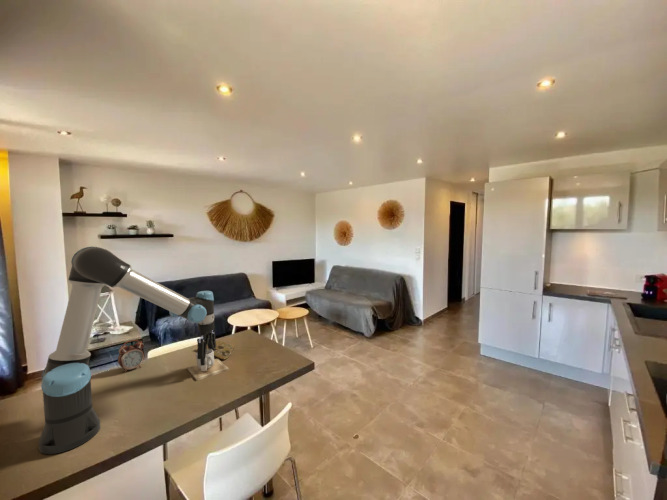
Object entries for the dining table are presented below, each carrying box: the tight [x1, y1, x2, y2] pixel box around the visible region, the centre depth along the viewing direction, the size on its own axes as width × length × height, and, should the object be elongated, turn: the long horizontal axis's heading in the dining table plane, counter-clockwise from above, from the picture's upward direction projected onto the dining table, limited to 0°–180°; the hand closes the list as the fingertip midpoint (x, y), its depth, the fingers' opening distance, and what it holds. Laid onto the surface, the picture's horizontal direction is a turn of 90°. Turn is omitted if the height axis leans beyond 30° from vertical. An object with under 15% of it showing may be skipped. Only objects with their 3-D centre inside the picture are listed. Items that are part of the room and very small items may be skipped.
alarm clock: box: [117, 339, 146, 373], centre depth 142 cm, size 11×5×15 cm, turn 143°
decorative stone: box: [207, 340, 235, 360], centre depth 162 cm, size 25×15×5 cm, turn 47°
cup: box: [195, 349, 215, 369], centre depth 140 cm, size 11×8×8 cm
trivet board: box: [187, 357, 229, 381], centre depth 141 cm, size 15×15×1 cm
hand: (207, 367), depth 141 cm, fingers closed on cup, 7 cm apart
